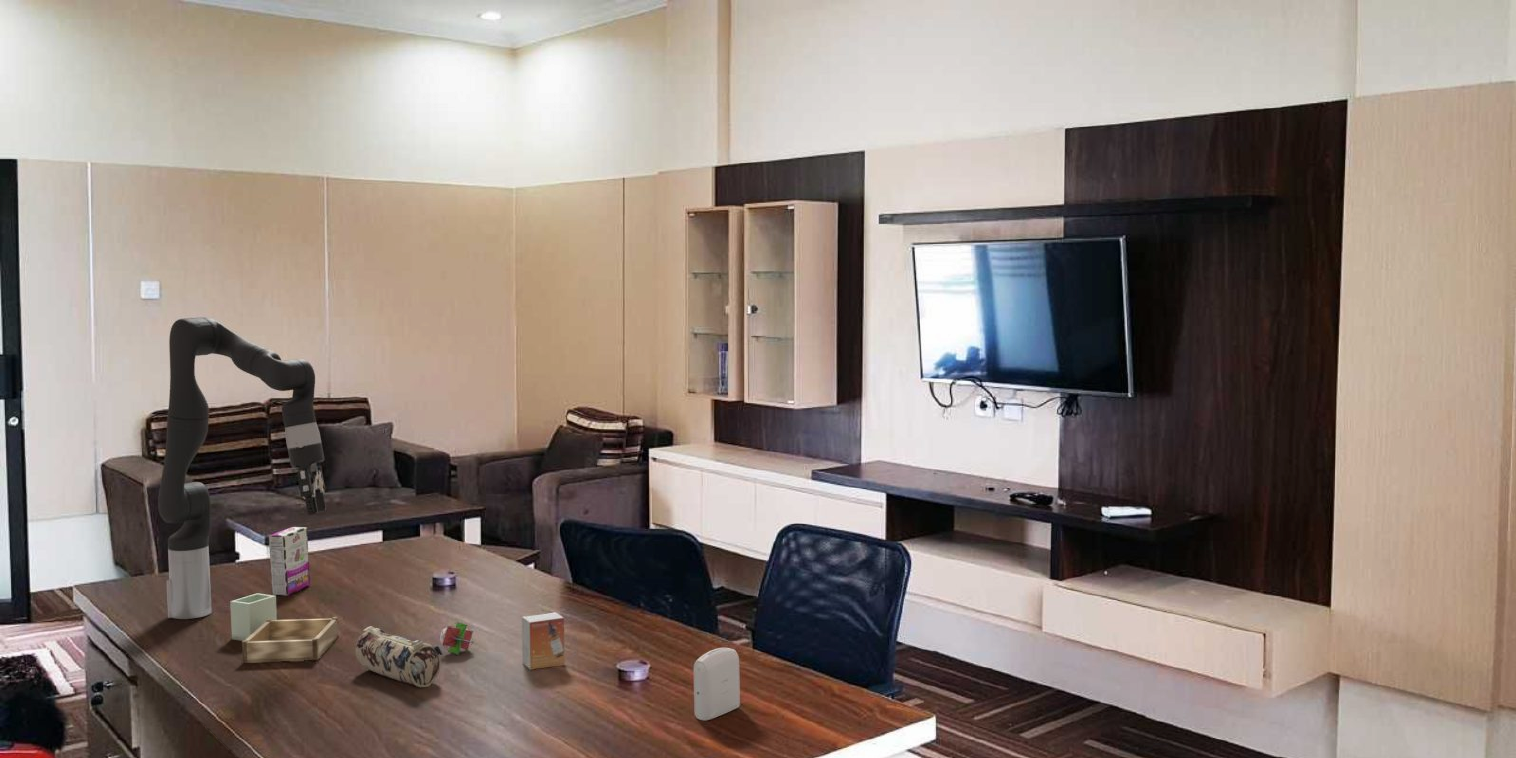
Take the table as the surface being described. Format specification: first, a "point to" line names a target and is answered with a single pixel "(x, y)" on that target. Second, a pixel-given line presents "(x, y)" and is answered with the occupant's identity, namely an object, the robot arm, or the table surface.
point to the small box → (543, 640)
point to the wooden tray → (290, 640)
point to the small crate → (251, 614)
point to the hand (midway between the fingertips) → (317, 512)
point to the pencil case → (398, 657)
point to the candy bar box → (289, 561)
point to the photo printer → (716, 683)
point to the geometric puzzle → (456, 637)
